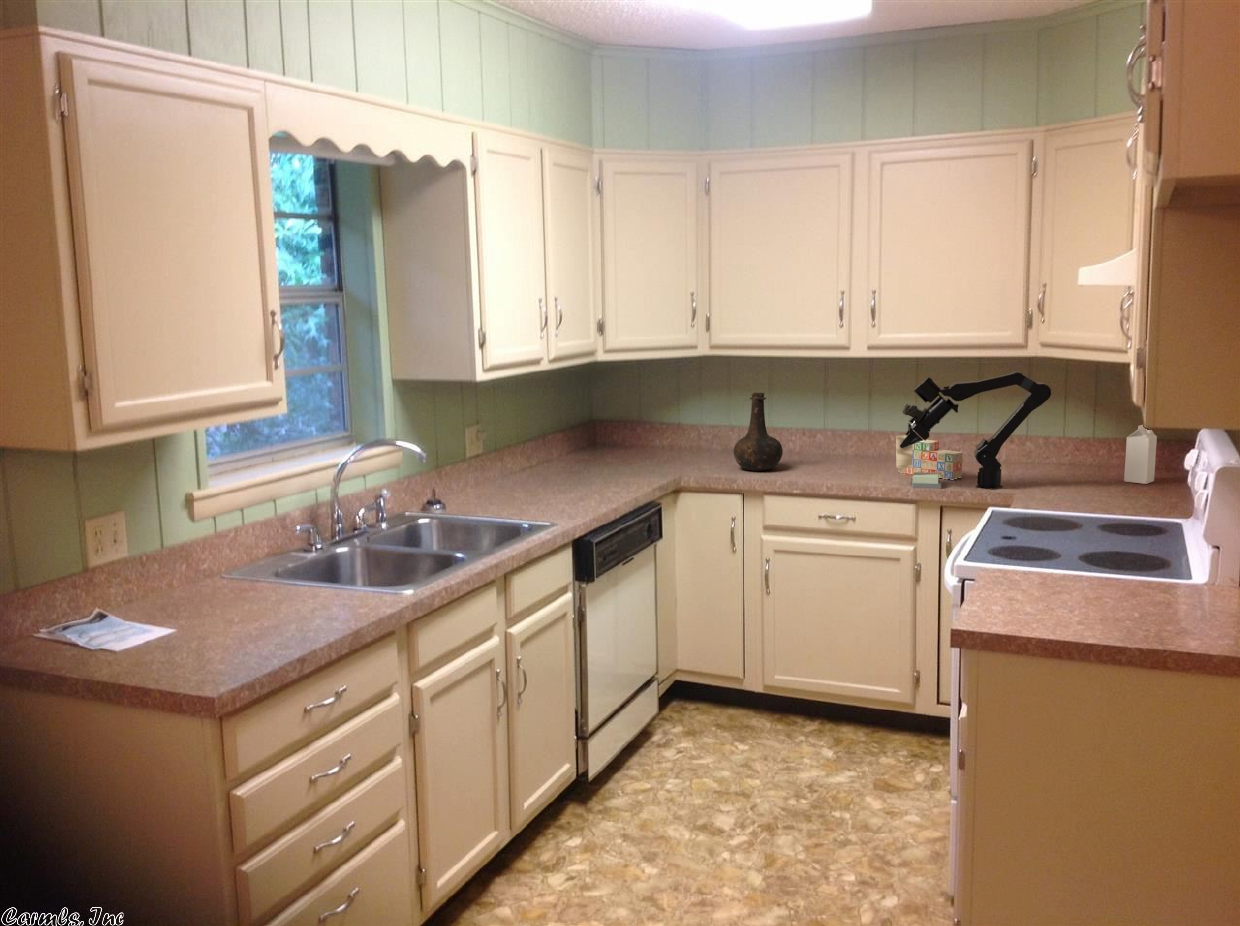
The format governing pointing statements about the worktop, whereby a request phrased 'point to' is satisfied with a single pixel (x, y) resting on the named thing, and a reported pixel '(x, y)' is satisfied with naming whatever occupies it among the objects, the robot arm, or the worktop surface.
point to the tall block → (903, 453)
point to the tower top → (925, 477)
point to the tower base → (926, 485)
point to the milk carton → (1140, 456)
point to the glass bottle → (758, 441)
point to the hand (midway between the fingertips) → (900, 446)
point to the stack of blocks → (935, 460)
